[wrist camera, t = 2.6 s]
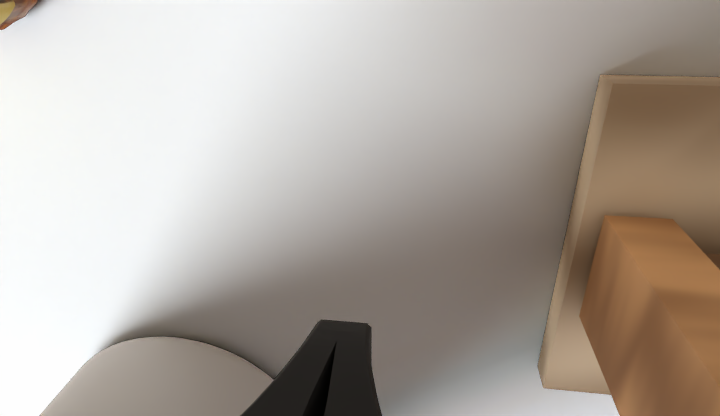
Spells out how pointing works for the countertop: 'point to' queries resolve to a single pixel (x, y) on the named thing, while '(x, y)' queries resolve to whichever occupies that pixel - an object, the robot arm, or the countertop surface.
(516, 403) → the countertop surface
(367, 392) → the robot arm
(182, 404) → the cylinder vase
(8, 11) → the sauce bottle
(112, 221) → the countertop surface
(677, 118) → the base board
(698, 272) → the brown piece
